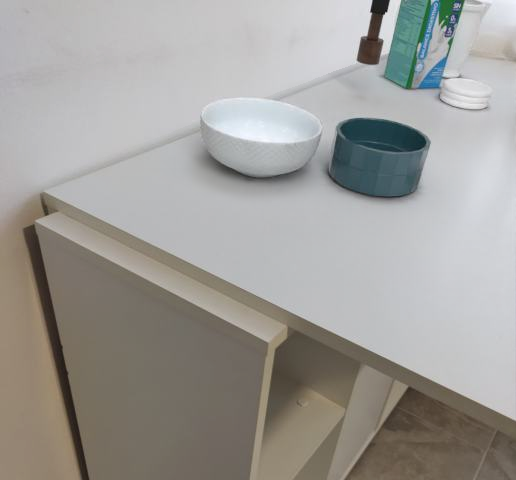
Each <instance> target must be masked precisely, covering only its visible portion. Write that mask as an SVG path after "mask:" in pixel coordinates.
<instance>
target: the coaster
mask: <svg viewBox="0 0 516 480" xmlns="http://www.w3.org/2000/svg"><path fill="white" fill-rule="evenodd" d="M492 94H493V89H492V87H491V86H490V85H488V84H487V83H484V82H481V81H478V80H475V79H470V78H463V77H455V78H447V79H445V80H444V81H443V83H442V88H441V92H440V94H439V98H440V100H441V101H442V102H443V103H445V104H447V105H449V106H451V107H452V106H453V107H456V108H460V109H465V110H483V109H485V108H487V107H488V105H489V101H490V100H491V96H492Z"/></svg>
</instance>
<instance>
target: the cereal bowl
mask: <svg viewBox="0 0 516 480" xmlns="http://www.w3.org/2000/svg"><path fill="white" fill-rule="evenodd" d="M199 117H200V119H199V122H200V127H199V128H200V135H201V138H202V142H203V144H204V146H205V148H206V150H207V151H208V152H209V154H210V155H211V156H212V157H213V158H214V159H215V160H216V161H218V162H220V164H222V165H224V166H226V167H228V168H230V169H233V170H234V171H235V172H237V173H239V174H241V175H244V176H248V177H253V178H263V179H264V178H265V179H266V178H273V177H277V176H279V175H284V174H288V173H289V174H290V173H292V172H295V171H297V170H299V169H301V168H302V167H304V166H305V165H307V164H308V163H309V162H310V161H311V160H312V159H313V157H314V156H315V154H316V152H317V150H318V148H319V145H320V142H321V139H322V134H323V124H322V123H321V121H320V120H319V119H318V118H317V116H315V115H314V114H313V113H311V112H309V111H308V110H305V109H303V108H302V107H299V106H296V105H293V104H290V103H287V102H283V101H279V100H274V99H269V98H261V97H230V98H224V99H218V100H215V101H213V102H210V103H209V104H207V105H205V106H204V107H203V108H202V110H201V111H200V115H199Z"/></svg>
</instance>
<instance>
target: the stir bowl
mask: <svg viewBox="0 0 516 480" xmlns="http://www.w3.org/2000/svg"><path fill="white" fill-rule="evenodd" d="M333 134H334V135H333V139H332V144H331V145H332V146H331V152H330V156H329V162H328V174H329V176H331V178H332V179H333V180H334V181H335V182H337V183H338V184H339V185H341V186H343V187H344V188H348V189H349V190H352V191H355V192H357V193H359V194H364V195H368V196H374V197H401V196H405V195H408V194H411V193H412V192H414V191H415V190H416V189H418V186H419V184H420V181H421V180H420V179H421V176H422V173H423V170H424V167H425V164H426V160H427V157H428V154H429V150H430V146H431V144H432V141H431V140H430V138H429V136H427V135H426V134H425V133H423V132H422V131H420V130H419V129H417V128H414V127H412V126H410V125H408V124H404V123H401V122H398V121H395V120H390V119H389V120H388V119H383V118H377V117H376V118H375V117H354V118H348V119H343V121H340V122H338V124H337V125H336V126H335V129H334V133H333Z"/></svg>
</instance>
